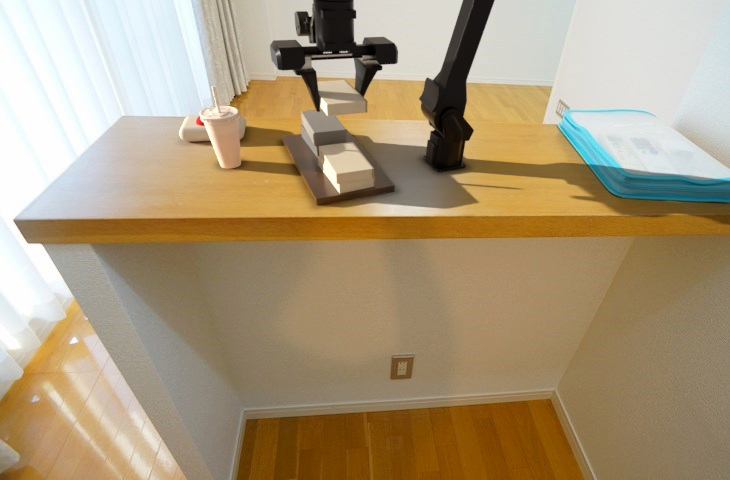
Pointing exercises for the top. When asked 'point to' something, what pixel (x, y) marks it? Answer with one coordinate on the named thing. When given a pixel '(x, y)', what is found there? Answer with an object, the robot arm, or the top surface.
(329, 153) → the white book
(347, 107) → the white book
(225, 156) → the smoothie
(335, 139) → the grey flat block
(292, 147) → the walnut board
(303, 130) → the gray rectangular block
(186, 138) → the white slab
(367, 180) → the white book
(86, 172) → the top surface
